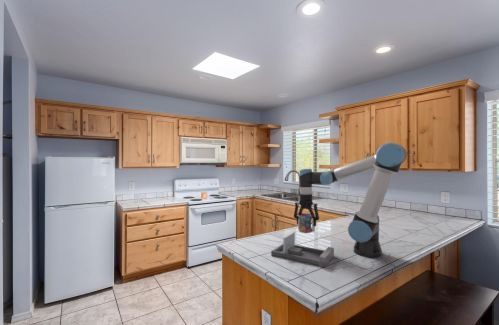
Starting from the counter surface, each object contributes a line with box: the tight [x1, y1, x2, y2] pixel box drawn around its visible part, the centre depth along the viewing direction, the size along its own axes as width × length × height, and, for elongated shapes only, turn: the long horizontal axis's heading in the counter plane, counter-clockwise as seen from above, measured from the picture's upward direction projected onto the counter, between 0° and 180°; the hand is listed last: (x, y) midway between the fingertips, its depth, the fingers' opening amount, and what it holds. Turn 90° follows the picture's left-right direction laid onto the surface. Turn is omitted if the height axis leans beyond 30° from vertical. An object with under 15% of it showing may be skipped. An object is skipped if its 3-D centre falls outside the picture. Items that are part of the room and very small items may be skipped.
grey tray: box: [270, 243, 335, 269], centre depth 142 cm, size 30×17×5 cm, turn 58°
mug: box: [297, 212, 313, 234], centre depth 157 cm, size 12×9×11 cm
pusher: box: [282, 231, 302, 256], centre depth 145 cm, size 7×14×10 cm, turn 148°
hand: (306, 230), depth 157 cm, fingers closed on mug, 8 cm apart
